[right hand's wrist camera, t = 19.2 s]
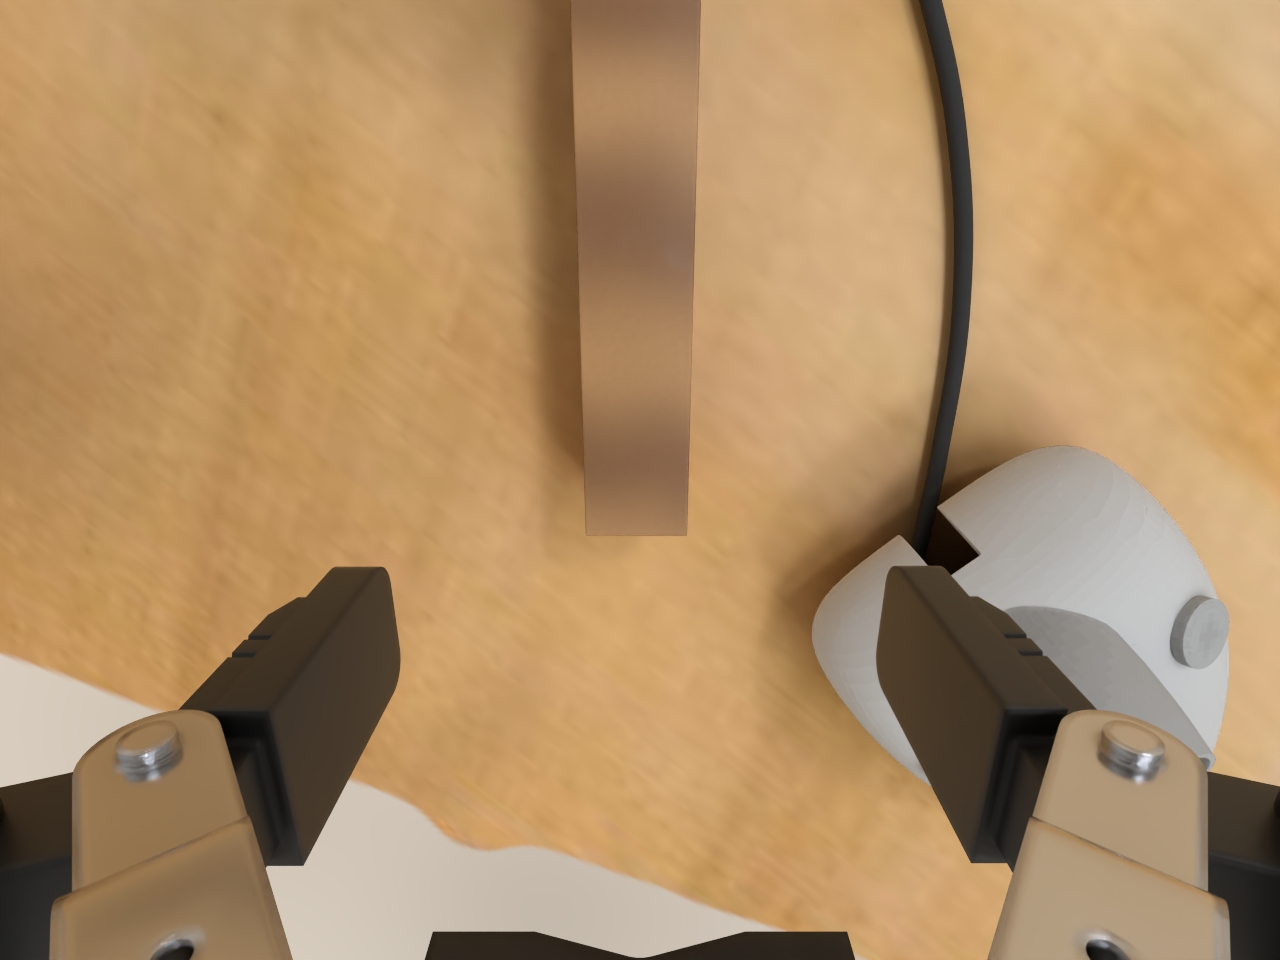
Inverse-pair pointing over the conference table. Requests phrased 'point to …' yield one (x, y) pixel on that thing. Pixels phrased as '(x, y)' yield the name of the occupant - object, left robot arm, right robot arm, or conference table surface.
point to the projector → (1060, 597)
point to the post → (635, 256)
